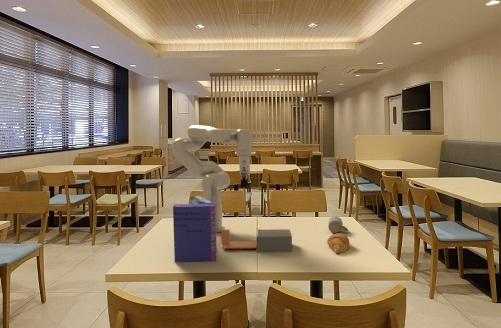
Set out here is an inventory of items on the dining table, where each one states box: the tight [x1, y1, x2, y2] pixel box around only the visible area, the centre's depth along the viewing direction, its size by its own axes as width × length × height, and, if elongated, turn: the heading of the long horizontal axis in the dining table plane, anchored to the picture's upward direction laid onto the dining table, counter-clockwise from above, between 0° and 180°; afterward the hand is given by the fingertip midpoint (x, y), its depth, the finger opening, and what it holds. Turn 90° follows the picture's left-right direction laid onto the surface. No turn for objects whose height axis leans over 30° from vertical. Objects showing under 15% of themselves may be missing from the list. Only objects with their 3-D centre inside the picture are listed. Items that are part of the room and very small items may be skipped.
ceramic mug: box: [327, 215, 349, 234], centre depth 198 cm, size 11×8×8 cm
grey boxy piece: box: [256, 227, 293, 253], centre depth 173 cm, size 16×12×8 cm
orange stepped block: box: [221, 228, 257, 249], centre depth 173 cm, size 16×8×8 cm, turn 89°
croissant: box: [326, 232, 351, 254], centre depth 172 cm, size 21×10×8 cm, turn 164°
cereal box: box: [172, 203, 218, 263], centre depth 157 cm, size 17×5×24 cm, turn 91°
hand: (244, 186), depth 190 cm, fingers open, 9 cm apart
